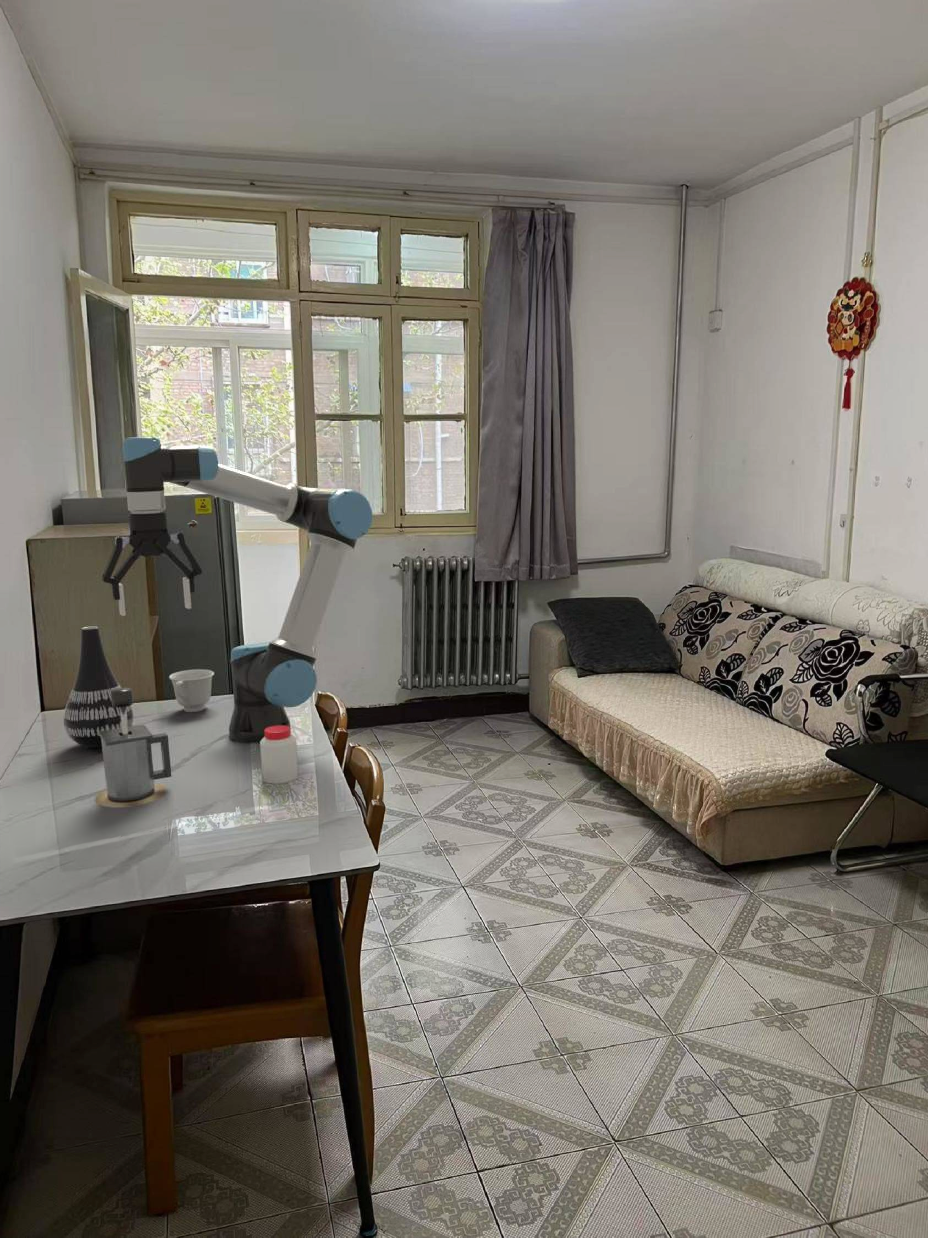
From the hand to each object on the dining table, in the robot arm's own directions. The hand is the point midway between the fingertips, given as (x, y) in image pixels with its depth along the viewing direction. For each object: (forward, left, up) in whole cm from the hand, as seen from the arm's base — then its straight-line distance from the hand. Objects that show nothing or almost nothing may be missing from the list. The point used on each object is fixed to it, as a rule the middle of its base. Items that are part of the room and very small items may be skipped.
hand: (156, 611), depth 198 cm
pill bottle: (-20, +15, -37) cm, 45 cm away
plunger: (+10, +10, -33) cm, 36 cm away
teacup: (-17, -50, -37) cm, 64 cm away
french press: (+8, +10, -36) cm, 38 cm away
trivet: (+10, +10, -37) cm, 39 cm away
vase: (+10, -31, -37) cm, 49 cm away
